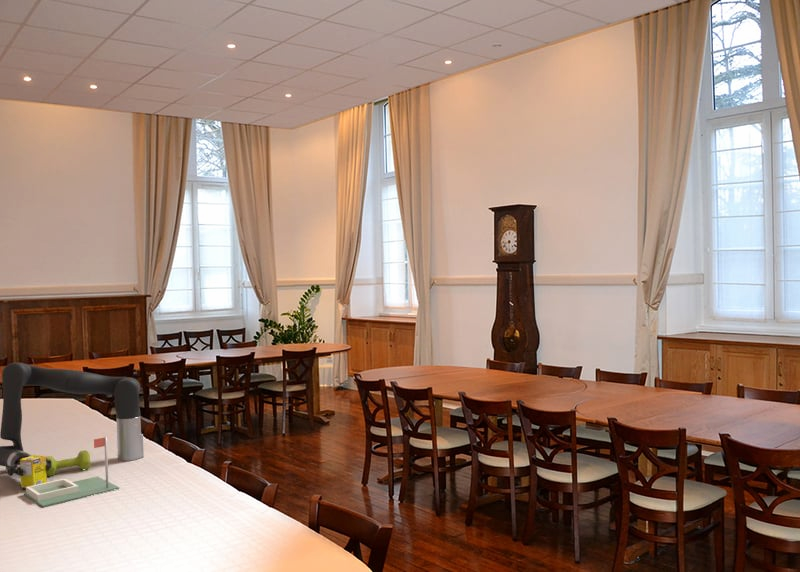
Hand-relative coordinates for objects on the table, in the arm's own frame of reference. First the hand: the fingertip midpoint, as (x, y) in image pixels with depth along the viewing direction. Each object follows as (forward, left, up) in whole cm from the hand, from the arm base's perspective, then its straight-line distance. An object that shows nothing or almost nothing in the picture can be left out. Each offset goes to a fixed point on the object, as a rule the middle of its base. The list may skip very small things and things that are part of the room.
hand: (35, 470), depth 242 cm
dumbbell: (-15, -13, -7) cm, 21 cm away
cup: (-8, +14, -7) cm, 17 cm away
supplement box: (0, -2, -7) cm, 7 cm away
